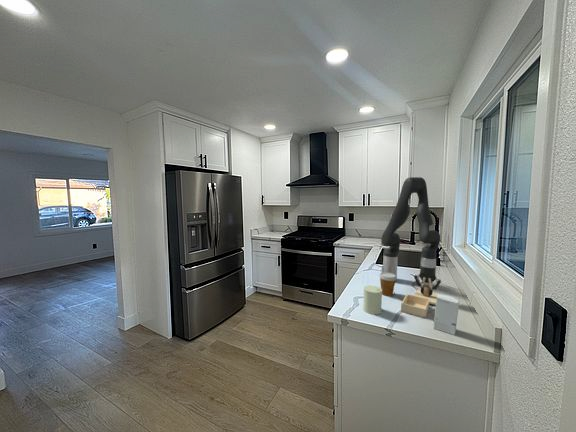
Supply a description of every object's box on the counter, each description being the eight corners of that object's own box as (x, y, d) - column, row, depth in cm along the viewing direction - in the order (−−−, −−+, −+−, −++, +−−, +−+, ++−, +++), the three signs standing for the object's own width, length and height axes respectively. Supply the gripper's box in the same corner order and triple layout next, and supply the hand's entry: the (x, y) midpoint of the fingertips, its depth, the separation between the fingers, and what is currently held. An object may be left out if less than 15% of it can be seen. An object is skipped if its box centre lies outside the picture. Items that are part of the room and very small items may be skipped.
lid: (412, 299, 134) (413, 288, 134) (417, 290, 146) (417, 280, 145) (436, 305, 127) (437, 293, 127) (439, 295, 139) (439, 284, 138)
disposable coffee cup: (394, 291, 147) (395, 273, 146) (396, 298, 138) (397, 278, 137) (378, 289, 150) (379, 271, 149) (378, 296, 141) (379, 276, 140)
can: (379, 316, 118) (380, 293, 117) (360, 311, 123) (361, 289, 122) (383, 308, 126) (384, 286, 125) (365, 304, 131) (366, 283, 130)
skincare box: (433, 328, 107) (435, 297, 106) (435, 323, 112) (437, 292, 111) (455, 335, 102) (458, 302, 101) (457, 329, 107) (459, 297, 105)
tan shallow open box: (400, 311, 123) (401, 303, 122) (406, 301, 134) (406, 293, 133) (425, 318, 116) (425, 309, 116) (428, 307, 127) (429, 299, 127)
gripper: (413, 264, 136) (411, 293, 138) (442, 269, 127) (440, 300, 129) (415, 261, 142) (413, 289, 144) (443, 265, 133) (441, 295, 135)
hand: (426, 294), depth 136 cm, fingers closed on lid, 3 cm apart
